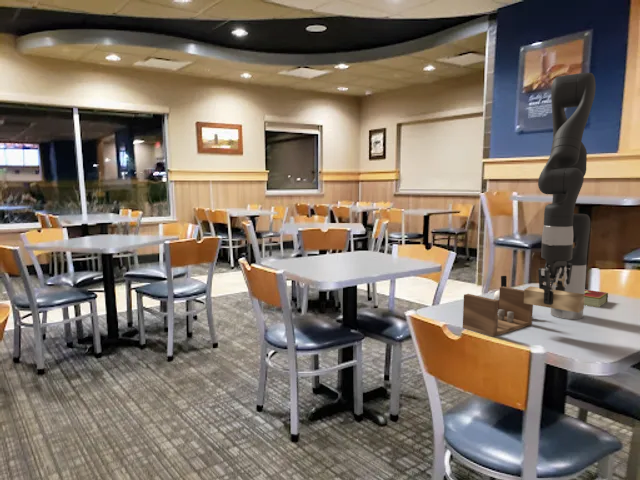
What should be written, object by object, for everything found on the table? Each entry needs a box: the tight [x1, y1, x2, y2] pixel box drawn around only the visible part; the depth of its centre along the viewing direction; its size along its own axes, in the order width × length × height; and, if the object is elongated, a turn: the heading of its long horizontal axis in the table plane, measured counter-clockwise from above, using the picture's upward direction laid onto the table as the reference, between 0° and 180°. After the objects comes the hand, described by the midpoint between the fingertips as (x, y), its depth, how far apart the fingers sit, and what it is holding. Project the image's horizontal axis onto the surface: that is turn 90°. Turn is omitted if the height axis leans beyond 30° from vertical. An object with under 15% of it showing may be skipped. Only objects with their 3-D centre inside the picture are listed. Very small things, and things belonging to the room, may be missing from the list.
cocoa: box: [493, 275, 508, 310], centre depth 151 cm, size 10×6×12 cm, turn 141°
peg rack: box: [462, 286, 534, 338], centre depth 133 cm, size 20×10×10 cm, turn 125°
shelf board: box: [524, 285, 585, 313], centre depth 123 cm, size 14×5×4 cm, turn 47°
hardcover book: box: [550, 284, 609, 308], centre depth 166 cm, size 12×21×4 cm, turn 46°
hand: (553, 301), depth 123 cm, fingers closed on shelf board, 5 cm apart
